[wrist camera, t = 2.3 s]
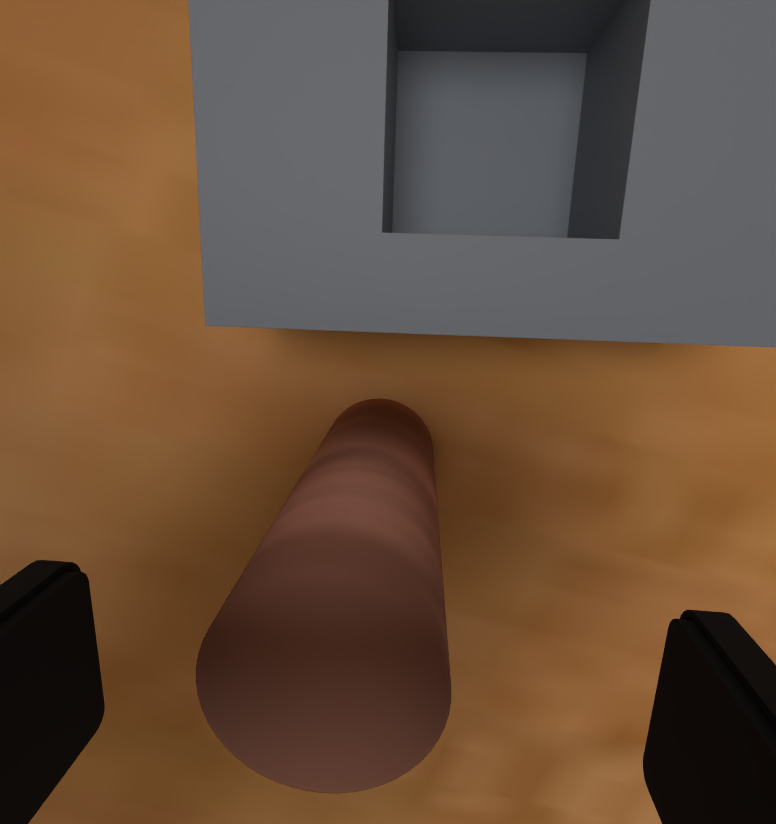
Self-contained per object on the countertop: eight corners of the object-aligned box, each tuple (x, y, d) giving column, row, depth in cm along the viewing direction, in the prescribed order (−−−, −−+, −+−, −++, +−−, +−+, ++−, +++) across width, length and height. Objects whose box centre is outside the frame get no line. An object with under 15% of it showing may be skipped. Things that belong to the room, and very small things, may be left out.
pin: (429, 502, 20) (443, 802, 9) (326, 497, 20) (202, 783, 9) (435, 401, 19) (460, 584, 8) (326, 396, 19) (188, 567, 8)
